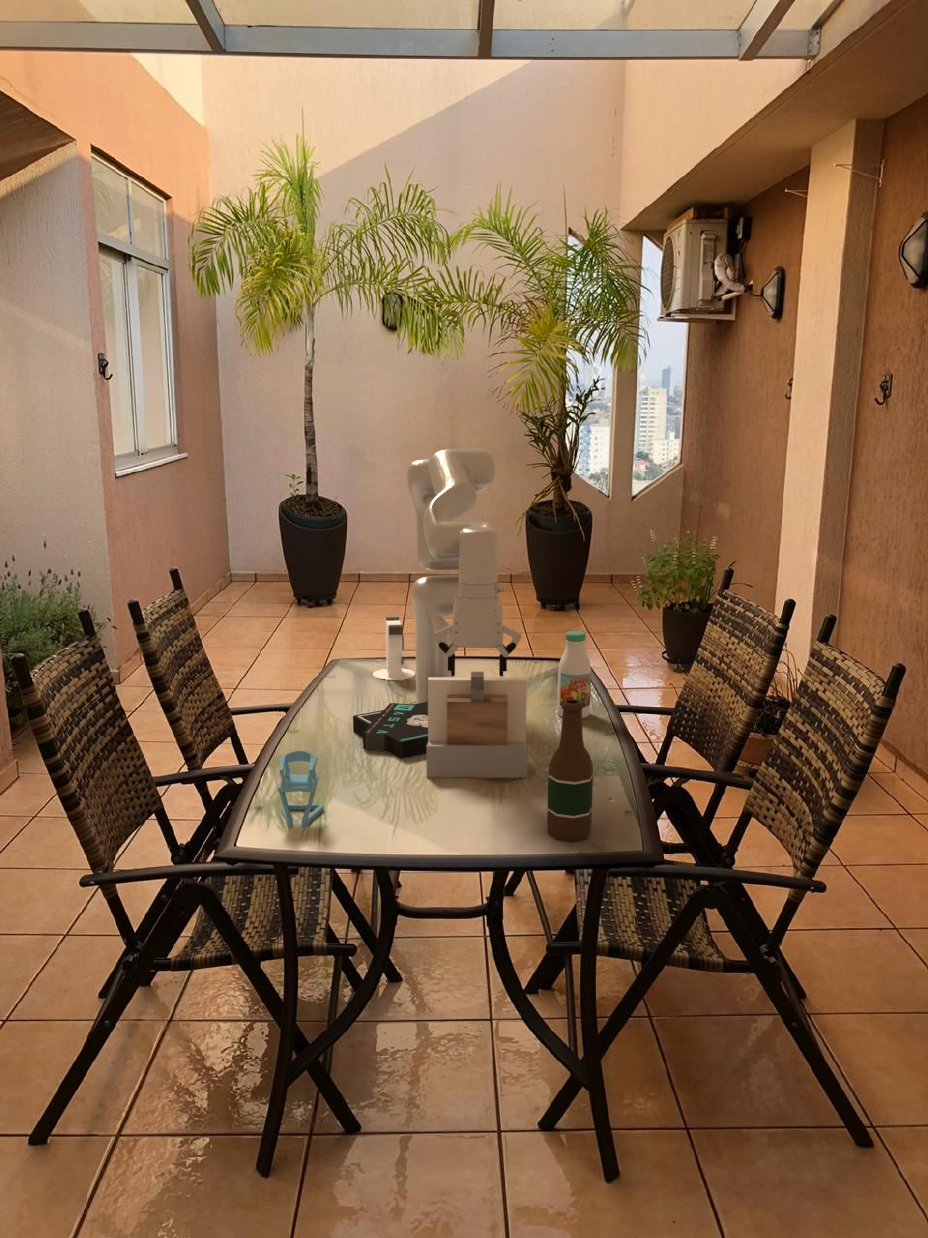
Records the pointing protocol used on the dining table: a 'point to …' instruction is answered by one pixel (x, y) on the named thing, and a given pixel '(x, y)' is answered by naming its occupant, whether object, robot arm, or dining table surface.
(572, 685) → the milk bottle
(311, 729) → the dining table surface
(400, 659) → the white peg on disc
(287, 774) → the chair
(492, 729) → the walnut cabinet
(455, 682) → the wall board
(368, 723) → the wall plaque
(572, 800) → the beer bottle
